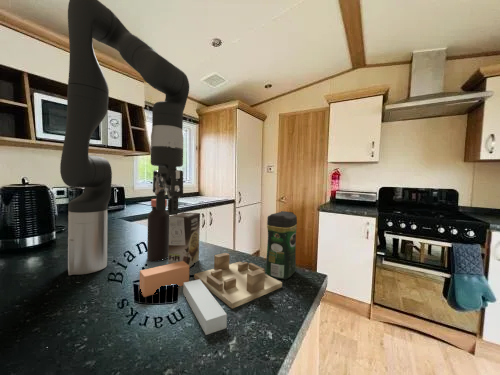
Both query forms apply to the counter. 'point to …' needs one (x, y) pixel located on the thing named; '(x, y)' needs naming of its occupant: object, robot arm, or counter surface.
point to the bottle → (158, 233)
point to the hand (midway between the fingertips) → (166, 212)
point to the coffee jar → (281, 245)
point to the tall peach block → (163, 277)
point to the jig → (237, 281)
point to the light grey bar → (205, 306)
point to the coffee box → (184, 238)
